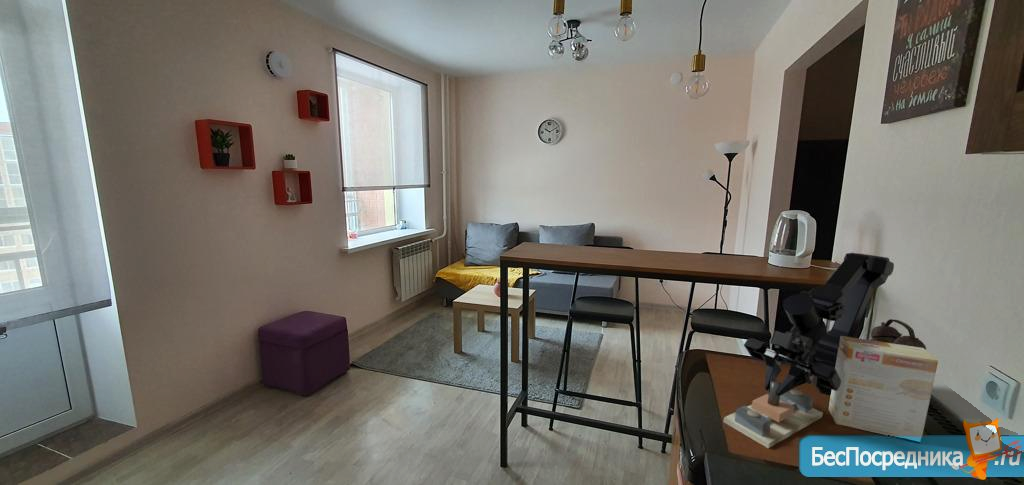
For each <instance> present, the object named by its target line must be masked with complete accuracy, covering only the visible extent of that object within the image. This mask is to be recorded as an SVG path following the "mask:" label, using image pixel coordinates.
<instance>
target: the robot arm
mask: <svg viewBox="0 0 1024 485" xmlns="http://www.w3.org/2000/svg"><path fill="white" fill-rule="evenodd" d="M894 268H895V264H894V262H892V261H890V257H888V256H887V257H886V256H880V255H872V254H867V253H865V254H864V253H857V252H847V253H846V254H845V255H844V257H843V261H842V263H841V264H839V266H838V267H837V268H836V269H835V271H834V272H833V274H831V276H829V278H828V279H827V281H826V282H825V283H823V285H819V286H814V287H812V289H811V290H809V291H804V290H801V291H800V292H799V293H798V294H793V295H790V296H788V297H786V298H785V299H784V300H783V303H782V307H783V309H784V311H785V314H787V317H788V319H789V322H790V323H791V324H792V325H793V326H792V327H791V329H790V331H789V330H788V331H786V332H782V331H778V330H774V332H773V334H772V337H771V340H770V342H769V344H771V345H774V349H775V350H776V351H775V350H773V349H770V348H769V347H768V345H767V343H766V342H765V341H761V340H758V339H756V338H753V337H751V338H748V339H746V340H745V342H744V344H743V347H744V348H745V349H746V351H747V352H748V354H749V356H750V357H752V358H754V359H757V360H759V361H761V362H764V363H765V365H766V371H765V380H764V390H765V391H768V392H769V388H770V381H771V380H776V381H777V379H778V377H779V375H780V374H781V372H782V369H781V367H780V365H781V364H784V365H786V366H788V367H789V371H788V374H786V376H785V378H784V380H782V382H781V383H782V384H781V385H780V387H779V389H778V391H777V393H776V394H777V396H781V395H782V394H784V393H786V392H788V391H789V390H791V389H795V388H797V387H799V386H802V385H804V384H808V385H809V384H810V385H811V384H812V383H813V384H814V386H815V387H816V389H817V390H818V391H819V393H821V394H827V395H831V390H835V391H837V390H838V388H839V386H840V385H841V380H840V378H839V375H838V373H837V371H836V369H835V366H836V360H837V354H838V348H839V342H840V337H841V336H845V337H851V338H855V337H854V336H855V334H856V332H857V329H858V327H859V325H860V322H861V320H862V317H863V315H864V313H865V310H866V308H867V305H868V303H869V301H870V298H871V296H872V294H873V291H874V290H875V289H876V288H879V287H880V286H882V285H884V284H885V283H886V281H887V280H888V278H889V276H892V274H893V272H894ZM823 319H824V320H827V321H832V322H833V325H832V327H831V329H829V330H828V331H827V328H828V326H827V324H826V323H825V321H824V320H823ZM810 358H811V363H812V365H811V364H809V363H808V362H809V360H810Z"/></svg>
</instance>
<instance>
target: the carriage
mask: <svg viewBox="0 0 1024 485" xmlns="http://www.w3.org/2000/svg"><path fill="white" fill-rule="evenodd" d="M781 384H782V382H781V381H779V380H777V379H776V380H771V381H770V388H769V390H768V393H766V394H764V395H761V396H759V397H757V398H755V399H753V400H752V401H751V403H752V404H751V405H752V409H754V410H756V411H758V412H760V413H762V414H764V415H766V416H767V417H769V418H771V419H773V420H775V421H777V422H780V421H782V420H784V419H786V418H788V417H790V416H791V415H793V411H794V406H791V405H789V404H787V403H785V402H783V401H781V400H780V396H777V394H776V393H777V391H778V389H779V387H780V385H781Z"/></svg>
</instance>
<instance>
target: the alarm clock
mask: <svg viewBox="0 0 1024 485" xmlns="http://www.w3.org/2000/svg"><path fill="white" fill-rule="evenodd" d="M892 323H896V324H899V325H901V326H903V327H904V328H905V329H906V330H907V332H908V334H909V335H903V334H902V333H901V332H899V331H898V329H897V328H895V327H894V326H892V325H891V324H892ZM890 325H891V326H890ZM870 340H872V341H879V342H885V343H892V344H899V345H906V346H913V347H920V348H924V349H925V350H927V347H926V344H924V342H923V341H922V340H921V339H919V338H918V337H916V334H915V331H914V329H913V328H912V327H911V325H909V324H907V323H905V322H904V321H901V320H899V319H892V318H891V319H888V320H887V321H886V322H885V321H881V323H880V325H878V326H874V327H873V328H872V329H871V331H870Z"/></svg>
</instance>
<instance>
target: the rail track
mask: <svg viewBox="0 0 1024 485" xmlns="http://www.w3.org/2000/svg"><path fill="white" fill-rule="evenodd" d="M780 400H781V401H783V402H785V403H787V404H789V405H791V406H794V411H793V415H791V416H790V417H788V418H786V419H784V420H782V421H780V422H777V421H775V420H773V419H771V418H769V417H767V416H766V415H764V414H762V413H760V412H758V411H756V410H754V409H752V404H750V405H748V406H746V405H743V406H742V405H741V406H740V407H738V408H736V410H735V411H734V412H733V413H731V414H728V415H726V416H724V417H723V424H725V425H727V426H729V427H731V428H732V429H734V430H736V431H738V432H740V433H741V434H743V435H744V436H746V437H748V438H749V439H752V440H753V441H755V442H756V443H758V444H759V445H761V446H764V447H765V448H767V449H769V448H771V447H774V446H775V445H777V444H779V443H780V442H782V441H784V440H786V439H787V438H789V437H791V436H792V435H794V434H796V433H797V432H799V431H801V430H802V429H804V428H806V427H808V426H809V425H811V424H813V423H815V422H816V421H818V420H820V419H821V418H823V414H824V412H823V411H821V410H818V409H817V408H814V407H813V401H814V397H812V396H809V395H807V394H805V393H803V392H802V391H799V390H797V389H795V388H793V389H791V390H789V391H788V392H786V393H784V394H782V395H781V396H780Z"/></svg>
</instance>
